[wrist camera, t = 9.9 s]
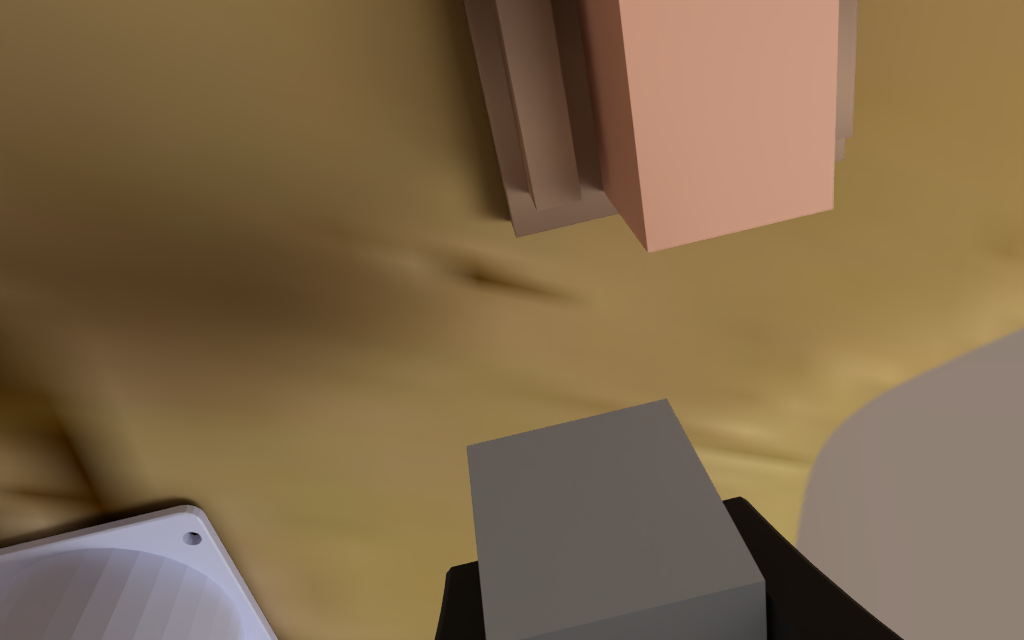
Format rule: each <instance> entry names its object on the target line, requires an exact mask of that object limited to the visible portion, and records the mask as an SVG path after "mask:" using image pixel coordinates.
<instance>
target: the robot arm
mask: <svg viewBox="0 0 1024 640" xmlns="http://www.w3.org/2000/svg"><path fill="white" fill-rule="evenodd" d="M722 502H723V504H724V506H725V507H726V509H727V511H728V513H729V515H730V517H731V518H732V520H733V522H734V524H735V526H736V528H737V530H738V531H739V533H740V535H741V537H742V539H743V541H744V543H745V544H746V546H747V548H748V550H749V552H750V554H751V555H752V557H753V559H754V561H755V563H756V565H757V567H758V568H759V570H760V572H761V574H762V576H763V578H764V579H765V594H766V626H767V640H904V639H902V638H901V637H900V636H898V635H897V634H896V633H895V632H893V631H892V630H891V629H889V628H888V627H887V626H886V625H884V624H883V623H882V622H880V621H879V620H878V619H877V618H875V617H874V616H873V615H872V614H870V613H869V612H868V611H867V610H866V609H864V608H863V607H862V606H861V605H860V604H858V603H857V602H856V601H855V600H853V599H852V598H851V597H850V596H849V595H848V594H847V593H845V592H844V591H843V590H842V589H841V588H839V587H838V586H837V585H836V584H835V583H834V582H833V581H831V580H830V579H829V578H828V577H827V576H826V575H824V574H823V573H822V572H821V571H820V570H819V569H818V568H816V567H815V566H814V565H813V564H812V563H811V562H810V561H809V560H807V559H806V558H805V557H804V556H803V555H802V554H801V553H800V552H799V551H798V550H797V549H796V548H795V547H794V546H793V545H791V544H790V543H789V542H788V541H787V540H786V539H785V538H784V537H783V536H782V535H781V534H780V533H779V532H778V531H777V530H776V529H775V528H774V527H773V526H772V525H771V524H770V523H769V522H768V521H767V520H766V519H765V518H764V517H763V516H762V515H761V514H760V513H759V512H758V511H757V510H756V509H755V508H754V507H753V506H752V505H751V504H750V503H749V502H748V501H747V500H746V499H744V498H742V497H736V498H732V499H728V500H724V501H722ZM189 532H195V533H198V534H199V535H193V534H190V533H189ZM0 640H278V639H277V637H276V635H275V634H274V632H273V630H272V628H271V627H270V625H269V623H268V622H267V620H266V618H265V616H264V615H263V613H262V611H261V609H260V608H259V606H258V604H257V603H256V601H255V599H254V597H253V596H252V594H251V592H250V590H249V589H248V587H247V585H246V584H245V582H244V580H243V578H242V577H241V575H240V573H239V572H238V570H237V568H236V566H235V565H234V563H233V561H232V559H231V558H230V556H229V554H228V553H227V551H226V549H225V547H224V546H223V544H222V542H221V540H220V539H219V537H218V535H217V534H216V532H215V530H214V528H213V527H212V525H211V523H210V522H209V520H208V518H207V516H206V515H205V513H204V512H203V511H202V510H201V509H199V508H197V507H195V506H191V505H181V506H176V507H172V508H168V509H164V510H160V511H156V512H151V513H147V514H143V515H139V516H135V517H131V518H126V519H122V520H118V521H114V522H110V523H105V524H101V525H97V526H93V527H89V528H85V529H80V530H76V531H72V532H68V533H64V534H60V535H55V536H51V537H47V538H43V539H39V540H34V541H30V542H26V543H22V544H18V545H14V546H9V547H5V548H1V549H0ZM435 640H486V633H485V623H484V613H483V603H482V593H481V584H480V574H479V564H478V561H475V562H471V563H467V564H462V565H458V566H454V567H451V568H450V570H449V571H448V572H447V573H446V581H445V589H444V595H443V601H442V607H441V613H440V618H439V623H438V627H437V632H436V636H435Z"/></svg>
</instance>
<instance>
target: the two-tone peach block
mask: <svg viewBox="0 0 1024 640" xmlns="http://www.w3.org/2000/svg"><path fill="white" fill-rule="evenodd" d="M576 3H577V10H578V17H579V24H580V31H581V38H582V45H583V52H584V59H585V66H586V73H587V80H588V87H589V94H590V101H591V108H592V115H593V121H594V128H595V135H596V142H597V149H598V156H599V163H600V170H601V177H602V184H603V191H604V193H605V194H606V196H607V197H608V198H609V200H610V201H611V202H612V204H613V205H614V207H615V208H616V209H617V211H618V212H619V213H620V215H621V216H622V218H623V219H624V220H625V222H626V223H627V225H628V226H629V227H630V229H631V230H632V231H633V233H634V234H635V236H636V237H637V238H638V240H639V241H640V243H641V244H642V245H643V247H644V248H645V249H646V251H647V252H648V253H650V252H654V251H658V250H662V249H667V248H671V247H675V246H679V245H683V244H688V243H692V242H696V241H700V240H704V239H709V238H713V237H717V236H721V235H725V234H730V233H734V232H738V231H742V230H746V229H751V228H755V227H759V226H763V225H768V224H772V223H776V222H780V221H784V220H789V219H793V218H797V217H801V216H805V215H810V214H814V213H818V212H822V211H826V210H831V209H833V198H834V163H835V128H836V93H837V58H838V23H839V0H576Z"/></svg>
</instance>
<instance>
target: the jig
mask: <svg viewBox="0 0 1024 640" xmlns="http://www.w3.org/2000/svg"><path fill="white" fill-rule="evenodd" d="M463 2H464V6H465V11H466V16H467V20H468V25H469V29H470V34H471V39H472V43H473V48H474V52H475V57H476V62H477V66H478V71H479V75H480V80H481V85H482V89H483V94H484V99H485V103H486V108H487V112H488V117H489V122H490V126H491V131H492V135H493V140H494V145H495V149H496V154H497V158H498V163H499V168H500V172H501V177H502V181H503V186H504V191H505V195H506V200H507V205H508V209H509V214H510V218H511V223H512V226H513V229H514V232H515V235H516V238H517V237H522V236H526V235H530V234H534V233H538V232H543V231H547V230H551V229H555V228H559V227H564V226H568V225H572V224H576V223H580V222H585V221H589V220H593V219H597V218H602V217H606V216H610V215H614V214H618V213H619V212H618V211H617V209H616V208H615V207H614V205H613V204H612V202H611V201H610V200H609V198H608V197H607V196H606V194H605V193H604V191H603V184H602V177H601V170H600V163H599V156H598V149H597V142H596V135H595V128H594V121H593V115H592V108H591V101H590V94H589V87H588V80H587V73H586V66H585V59H584V52H583V45H582V38H581V31H580V24H579V17H578V10H577V3H576V0H463ZM857 13H858V0H839V23H838V58H837V93H836V128H835V162H837V161H842V160H844V145H845V138H849V137H852V135H853V111H854V86H855V62H856V37H857Z"/></svg>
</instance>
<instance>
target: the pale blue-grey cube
mask: <svg viewBox="0 0 1024 640" xmlns="http://www.w3.org/2000/svg"><path fill="white" fill-rule="evenodd" d="M467 455H468V465H469V475H470V485H471V494H472V504H473V514H474V524H475V534H476V544H477V554H478V564H479V574H480V584H481V593H482V603H483V613H484V623H485V633H486V640H767V626H766V594H765V579H764V578H763V576H762V574H761V572H760V570H759V568H758V567H757V565H756V563H755V561H754V559H753V557H752V555H751V554H750V552H749V550H748V548H747V546H746V544H745V543H744V541H743V539H742V537H741V535H740V533H739V531H738V530H737V528H736V526H735V524H734V522H733V520H732V518H731V517H730V515H729V513H728V511H727V509H726V507H725V506H724V504H723V502H722V500H721V498H720V496H719V494H718V493H717V491H716V489H715V487H714V485H713V483H712V481H711V480H710V478H709V476H708V474H707V472H706V470H705V469H704V467H703V465H702V463H701V461H700V459H699V457H698V456H697V454H696V452H695V450H694V448H693V446H692V444H691V443H690V441H689V439H688V437H687V435H686V433H685V432H684V430H683V428H682V426H681V424H680V422H679V420H678V419H677V417H676V415H675V413H674V411H673V409H672V407H671V406H670V404H669V402H668V400H667V399H663V400H659V401H655V402H650V403H646V404H642V405H638V406H634V407H629V408H625V409H621V410H617V411H613V412H608V413H604V414H600V415H596V416H592V417H587V418H583V419H579V420H575V421H570V422H566V423H562V424H558V425H554V426H549V427H545V428H541V429H537V430H533V431H528V432H524V433H520V434H516V435H512V436H507V437H503V438H499V439H495V440H491V441H486V442H482V443H478V444H474V445H469V446H467Z"/></svg>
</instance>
